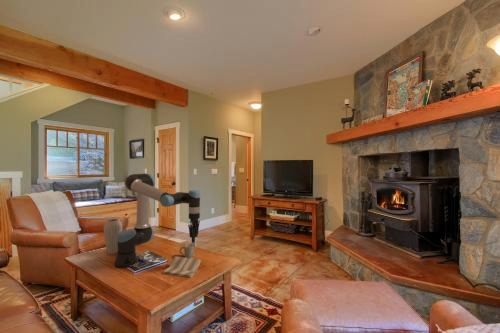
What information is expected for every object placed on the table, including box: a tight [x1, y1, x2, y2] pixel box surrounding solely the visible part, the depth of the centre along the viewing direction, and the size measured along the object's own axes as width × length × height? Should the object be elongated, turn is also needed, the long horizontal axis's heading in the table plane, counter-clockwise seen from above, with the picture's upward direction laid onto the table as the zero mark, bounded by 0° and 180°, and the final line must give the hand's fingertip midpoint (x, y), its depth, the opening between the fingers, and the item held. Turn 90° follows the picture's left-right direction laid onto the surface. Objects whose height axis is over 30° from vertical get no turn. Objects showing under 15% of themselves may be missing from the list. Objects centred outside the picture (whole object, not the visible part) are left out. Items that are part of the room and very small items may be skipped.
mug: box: [179, 243, 196, 259], centre depth 183 cm, size 8×13×10 cm, turn 78°
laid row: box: [162, 267, 196, 279], centre depth 161 cm, size 22×17×2 cm
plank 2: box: [182, 258, 202, 274], centre depth 162 cm, size 10×9×2 cm
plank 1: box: [168, 256, 187, 270], centre depth 165 cm, size 10×9×2 cm
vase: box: [103, 218, 123, 255], centre depth 191 cm, size 13×13×26 cm
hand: (193, 246), depth 164 cm, fingers closed
